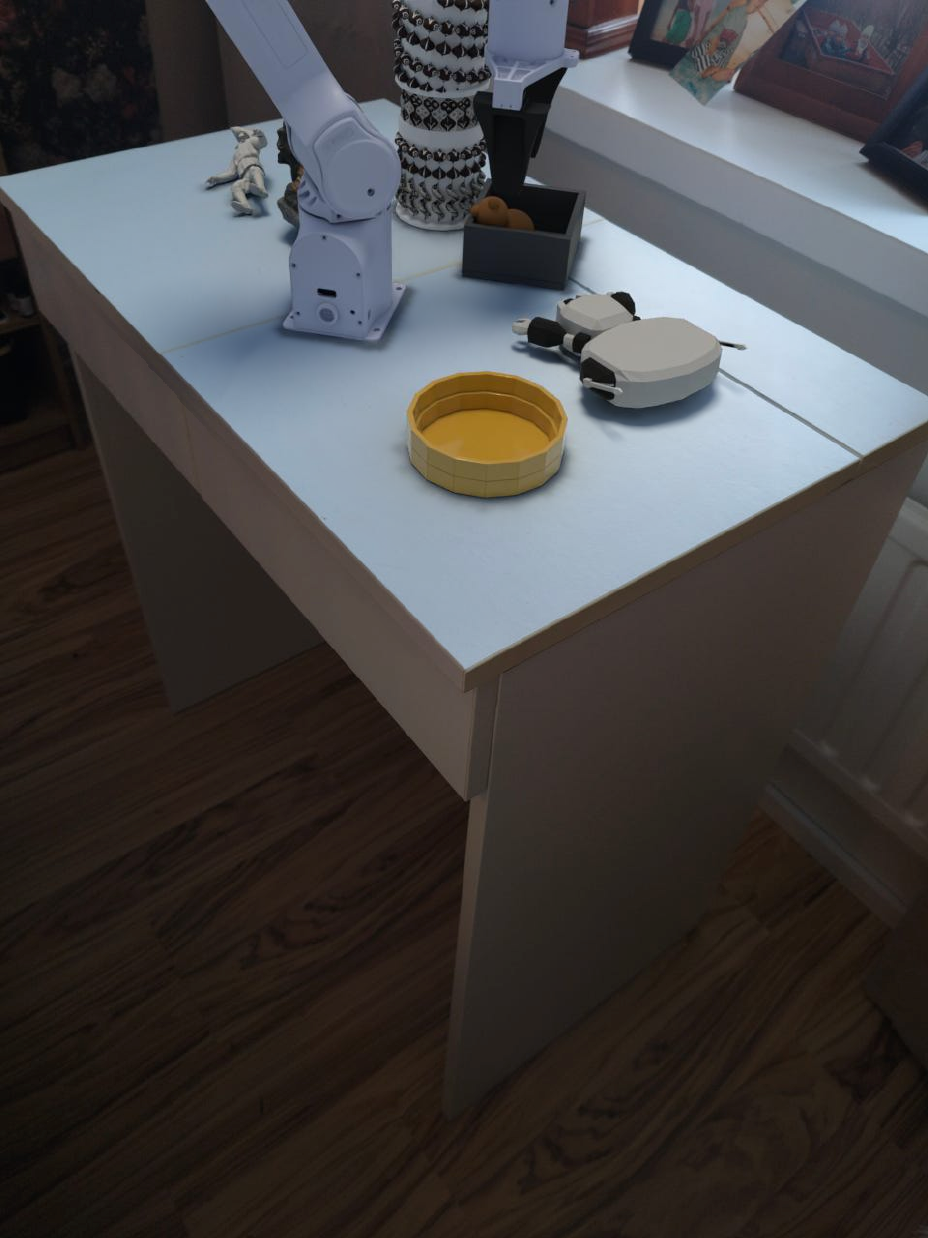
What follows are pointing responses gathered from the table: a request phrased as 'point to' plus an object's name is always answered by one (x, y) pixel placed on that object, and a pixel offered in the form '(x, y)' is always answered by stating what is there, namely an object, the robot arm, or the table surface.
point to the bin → (527, 238)
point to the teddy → (500, 215)
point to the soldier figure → (245, 168)
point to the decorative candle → (440, 109)
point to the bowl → (486, 433)
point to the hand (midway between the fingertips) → (515, 173)
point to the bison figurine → (290, 198)
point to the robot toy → (629, 349)
